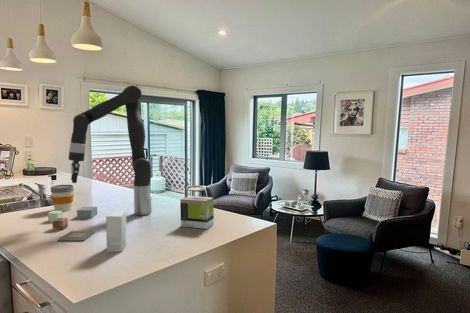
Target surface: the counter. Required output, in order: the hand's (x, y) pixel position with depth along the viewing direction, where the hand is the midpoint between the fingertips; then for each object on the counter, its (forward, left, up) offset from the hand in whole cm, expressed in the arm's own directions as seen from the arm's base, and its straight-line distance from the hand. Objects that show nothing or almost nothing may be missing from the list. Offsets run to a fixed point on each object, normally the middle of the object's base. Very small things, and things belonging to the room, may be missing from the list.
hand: (73, 181), depth 169 cm
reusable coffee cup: (+19, -25, -23) cm, 39 cm away
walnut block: (+2, +11, -23) cm, 25 cm away
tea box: (-67, +6, -23) cm, 71 cm away
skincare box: (-36, +38, -23) cm, 56 cm away
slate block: (-2, -11, -23) cm, 25 cm away
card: (-12, +23, -22) cm, 34 cm away
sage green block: (+12, -3, -23) cm, 26 cm away
